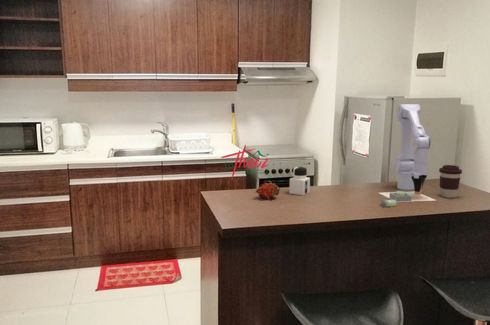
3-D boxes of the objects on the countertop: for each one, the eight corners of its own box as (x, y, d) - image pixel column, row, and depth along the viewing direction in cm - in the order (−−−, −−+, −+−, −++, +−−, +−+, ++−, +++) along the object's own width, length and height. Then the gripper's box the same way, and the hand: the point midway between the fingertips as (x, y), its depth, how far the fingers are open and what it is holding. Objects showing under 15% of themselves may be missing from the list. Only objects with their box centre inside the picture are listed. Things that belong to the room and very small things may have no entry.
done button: (402, 196, 201) (402, 190, 201) (406, 198, 198) (406, 192, 197) (394, 197, 201) (394, 190, 200) (398, 199, 197) (399, 192, 197)
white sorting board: (415, 192, 216) (415, 186, 215) (436, 202, 198) (437, 195, 198) (378, 194, 212) (378, 187, 212) (396, 203, 195) (396, 196, 194)
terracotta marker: (415, 192, 205) (416, 180, 204) (422, 193, 203) (423, 181, 202) (412, 193, 202) (413, 181, 201) (420, 195, 200) (421, 182, 199)
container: (309, 192, 215) (310, 167, 213) (303, 195, 209) (304, 169, 207) (295, 190, 219) (296, 165, 217) (289, 193, 213) (289, 168, 211)
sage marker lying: (392, 205, 191) (393, 198, 191) (396, 208, 188) (397, 200, 187) (380, 206, 190) (380, 199, 190) (383, 208, 187) (384, 200, 186)
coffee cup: (437, 197, 206) (440, 167, 204) (436, 193, 215) (439, 163, 213) (460, 199, 202) (463, 168, 200) (458, 195, 211) (461, 165, 209)
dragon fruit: (281, 201, 204) (257, 206, 203) (276, 188, 210) (253, 192, 208) (283, 189, 198) (257, 194, 196) (277, 176, 204) (253, 181, 202)
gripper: (414, 159, 208) (412, 186, 210) (407, 163, 196) (405, 192, 198) (430, 160, 204) (427, 188, 207) (424, 165, 192) (422, 194, 195)
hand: (418, 190), depth 202 cm, fingers closed on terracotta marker, 3 cm apart
